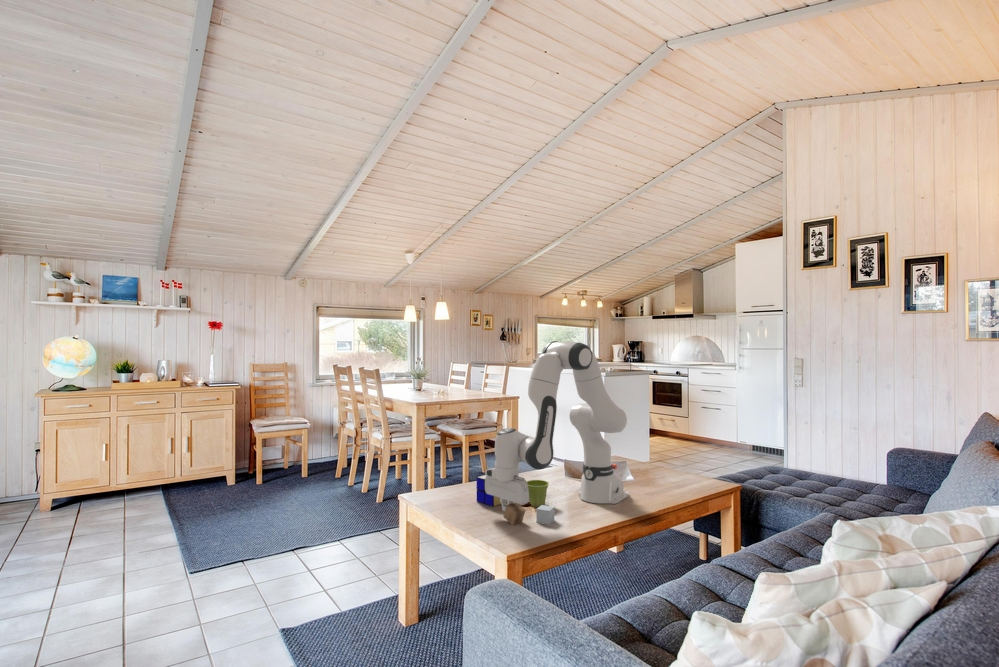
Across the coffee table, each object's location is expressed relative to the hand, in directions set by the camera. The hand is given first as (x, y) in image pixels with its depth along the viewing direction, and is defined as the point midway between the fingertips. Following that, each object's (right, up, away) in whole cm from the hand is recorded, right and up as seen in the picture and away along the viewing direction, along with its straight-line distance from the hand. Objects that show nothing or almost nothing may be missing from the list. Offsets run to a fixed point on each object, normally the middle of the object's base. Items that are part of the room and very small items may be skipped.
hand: (506, 511), depth 191 cm
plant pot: (+13, -4, +17) cm, 22 cm away
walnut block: (+1, +1, -1) cm, 2 cm away
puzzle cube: (-5, -4, +21) cm, 22 cm away
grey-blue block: (+14, -3, -2) cm, 15 cm away
